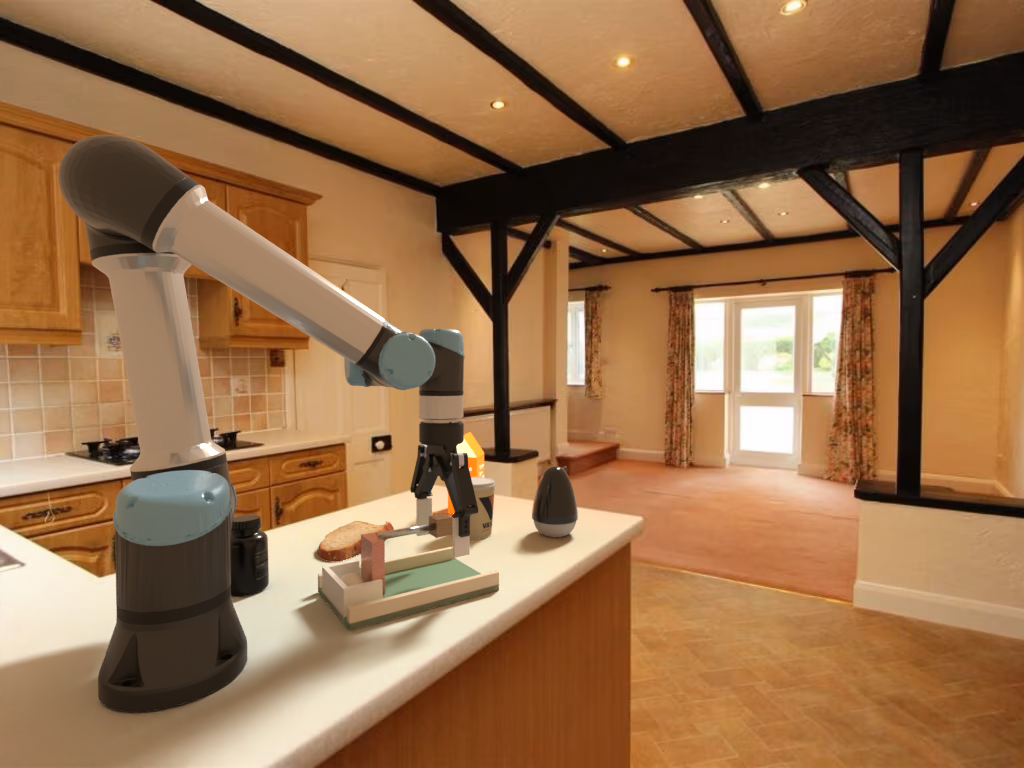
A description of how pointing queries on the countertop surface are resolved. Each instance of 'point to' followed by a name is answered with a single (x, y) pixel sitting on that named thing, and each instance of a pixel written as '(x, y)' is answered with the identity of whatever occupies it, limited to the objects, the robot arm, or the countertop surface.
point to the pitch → (402, 587)
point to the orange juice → (470, 460)
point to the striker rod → (376, 545)
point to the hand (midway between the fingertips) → (441, 544)
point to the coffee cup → (482, 507)
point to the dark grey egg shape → (554, 503)
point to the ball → (352, 579)
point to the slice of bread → (348, 540)
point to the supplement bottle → (248, 556)
